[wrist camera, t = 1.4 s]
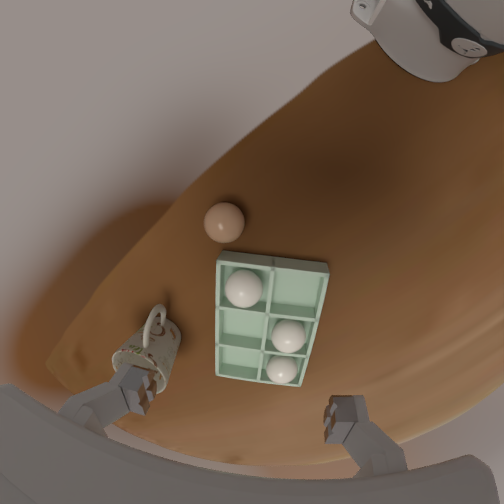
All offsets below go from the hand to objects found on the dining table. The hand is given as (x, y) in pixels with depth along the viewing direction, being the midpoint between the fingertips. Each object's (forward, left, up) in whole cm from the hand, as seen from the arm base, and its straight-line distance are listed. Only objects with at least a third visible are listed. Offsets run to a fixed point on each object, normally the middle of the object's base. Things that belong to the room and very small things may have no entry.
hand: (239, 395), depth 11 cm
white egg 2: (+13, +4, -23) cm, 27 cm away
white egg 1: (+6, -3, -23) cm, 24 cm away
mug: (+16, -15, -24) cm, 33 cm away
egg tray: (+13, 0, -24) cm, 27 cm away
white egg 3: (+19, +4, -23) cm, 31 cm away
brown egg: (-1, -6, -24) cm, 25 cm away
